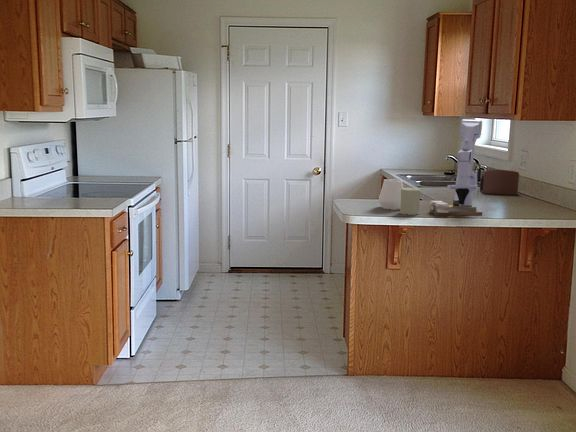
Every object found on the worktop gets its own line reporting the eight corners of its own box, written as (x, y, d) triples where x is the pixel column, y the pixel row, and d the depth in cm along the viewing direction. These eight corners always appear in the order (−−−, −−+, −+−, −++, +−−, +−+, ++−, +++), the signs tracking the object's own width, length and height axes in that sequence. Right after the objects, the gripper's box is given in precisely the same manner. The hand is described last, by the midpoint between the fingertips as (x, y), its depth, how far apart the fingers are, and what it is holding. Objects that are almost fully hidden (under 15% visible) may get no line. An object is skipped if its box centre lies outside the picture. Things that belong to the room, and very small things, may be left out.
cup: (402, 211, 311) (404, 182, 308) (375, 209, 315) (376, 180, 313) (407, 207, 323) (409, 179, 321) (381, 204, 328) (382, 177, 325)
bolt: (437, 209, 307) (438, 200, 306) (457, 209, 309) (457, 200, 308) (440, 210, 304) (440, 201, 303) (460, 210, 306) (460, 201, 305)
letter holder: (517, 195, 372) (519, 170, 369) (482, 193, 374) (484, 169, 372) (514, 192, 381) (516, 168, 379) (479, 191, 384) (481, 167, 381)
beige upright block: (406, 215, 301) (408, 189, 298) (395, 211, 309) (397, 187, 307) (423, 214, 304) (424, 189, 302) (412, 210, 312) (413, 186, 310)
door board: (429, 212, 310) (430, 200, 309) (472, 211, 314) (473, 200, 313) (438, 215, 301) (438, 204, 300) (482, 215, 304) (483, 203, 303)
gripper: (452, 177, 299) (450, 206, 302) (481, 177, 302) (479, 205, 304) (446, 175, 306) (444, 203, 309) (474, 175, 309) (472, 203, 311)
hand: (461, 204), depth 307 cm, fingers closed
